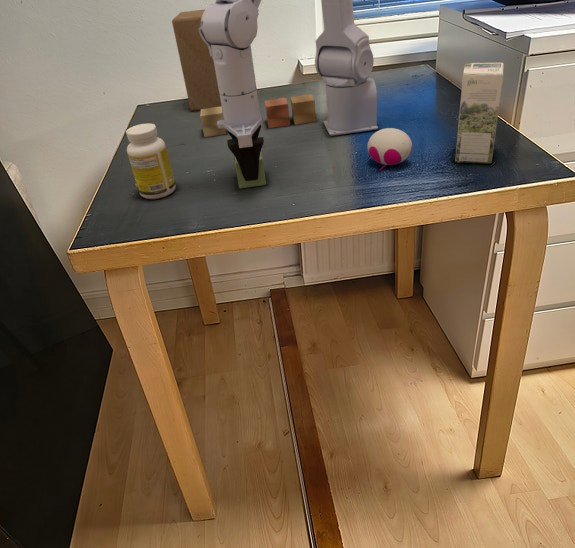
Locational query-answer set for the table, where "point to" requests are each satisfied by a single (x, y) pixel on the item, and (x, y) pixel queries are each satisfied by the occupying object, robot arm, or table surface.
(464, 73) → the syrup box
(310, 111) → the block line
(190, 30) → the wooden block
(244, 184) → the pale green cube
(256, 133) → the robot arm
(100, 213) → the table surface
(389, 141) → the stress ball
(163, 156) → the pill bottle
